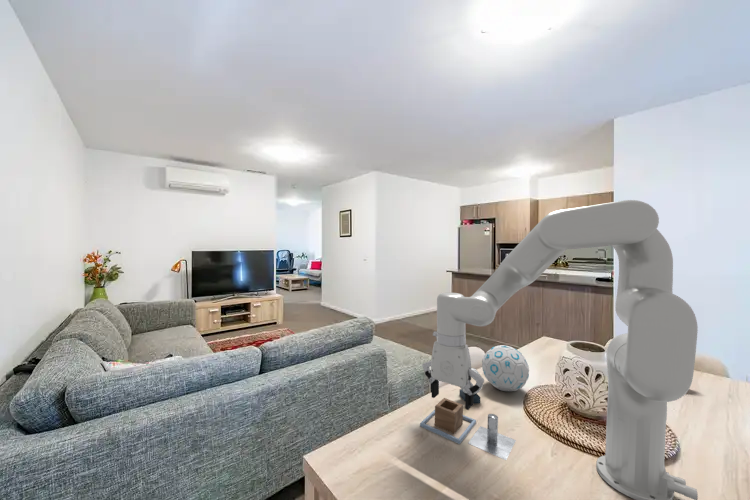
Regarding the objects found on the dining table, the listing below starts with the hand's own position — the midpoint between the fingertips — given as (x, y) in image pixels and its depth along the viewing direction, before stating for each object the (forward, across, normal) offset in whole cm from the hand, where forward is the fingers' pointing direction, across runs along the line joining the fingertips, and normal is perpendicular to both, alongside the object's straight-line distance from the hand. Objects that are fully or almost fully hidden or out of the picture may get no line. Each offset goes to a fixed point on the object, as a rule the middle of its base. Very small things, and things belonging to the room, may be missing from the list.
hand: (451, 401), depth 81 cm
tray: (+8, -1, 0) cm, 8 cm away
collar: (+7, -1, 0) cm, 7 cm away
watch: (+8, -1, +17) cm, 19 cm away
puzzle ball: (+8, +5, +34) cm, 35 cm away
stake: (+8, +11, 0) cm, 13 cm away
